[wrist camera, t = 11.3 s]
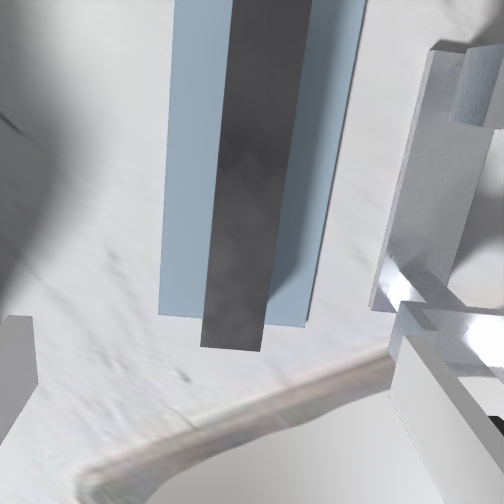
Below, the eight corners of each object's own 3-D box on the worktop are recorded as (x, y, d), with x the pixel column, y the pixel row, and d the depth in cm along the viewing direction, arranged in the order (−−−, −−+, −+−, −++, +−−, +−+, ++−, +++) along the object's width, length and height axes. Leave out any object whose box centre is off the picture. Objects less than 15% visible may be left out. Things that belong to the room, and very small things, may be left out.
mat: (159, 311, 39) (158, 314, 39) (177, -26, 30) (176, -28, 30) (303, 324, 40) (304, 327, 40) (363, 1, 31) (365, 0, 31)
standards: (357, 304, 40) (405, 390, 29) (415, 49, 33) (511, 30, 21) (443, 312, 40) (523, 400, 29) (519, 63, 33) (664, 53, 22)
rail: (256, 313, 39) (259, 351, 34) (205, 308, 39) (200, 346, 33) (299, 7, 31) (313, -10, 25) (234, -3, 30) (234, -22, 25)
